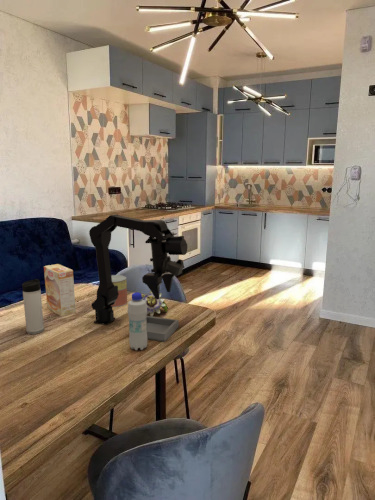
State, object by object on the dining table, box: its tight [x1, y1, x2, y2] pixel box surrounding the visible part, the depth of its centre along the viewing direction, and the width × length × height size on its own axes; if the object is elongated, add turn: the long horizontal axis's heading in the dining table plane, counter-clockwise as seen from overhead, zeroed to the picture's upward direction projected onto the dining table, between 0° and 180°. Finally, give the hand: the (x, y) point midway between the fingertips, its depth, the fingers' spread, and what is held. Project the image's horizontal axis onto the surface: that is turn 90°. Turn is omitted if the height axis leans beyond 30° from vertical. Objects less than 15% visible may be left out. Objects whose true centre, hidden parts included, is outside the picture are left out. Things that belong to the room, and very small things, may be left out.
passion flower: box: [142, 290, 169, 317], centre depth 164 cm, size 11×11×12 cm
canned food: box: [111, 274, 128, 308], centre depth 176 cm, size 11×11×12 cm
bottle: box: [127, 291, 149, 351], centre depth 130 cm, size 7×7×20 cm
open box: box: [146, 315, 180, 343], centre depth 144 cm, size 14×14×3 cm
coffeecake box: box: [43, 263, 77, 317], centre depth 166 cm, size 15×7×20 cm, turn 42°
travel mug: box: [21, 278, 45, 335], centre depth 144 cm, size 6×7×20 cm
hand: (163, 295), depth 142 cm, fingers open, 9 cm apart
